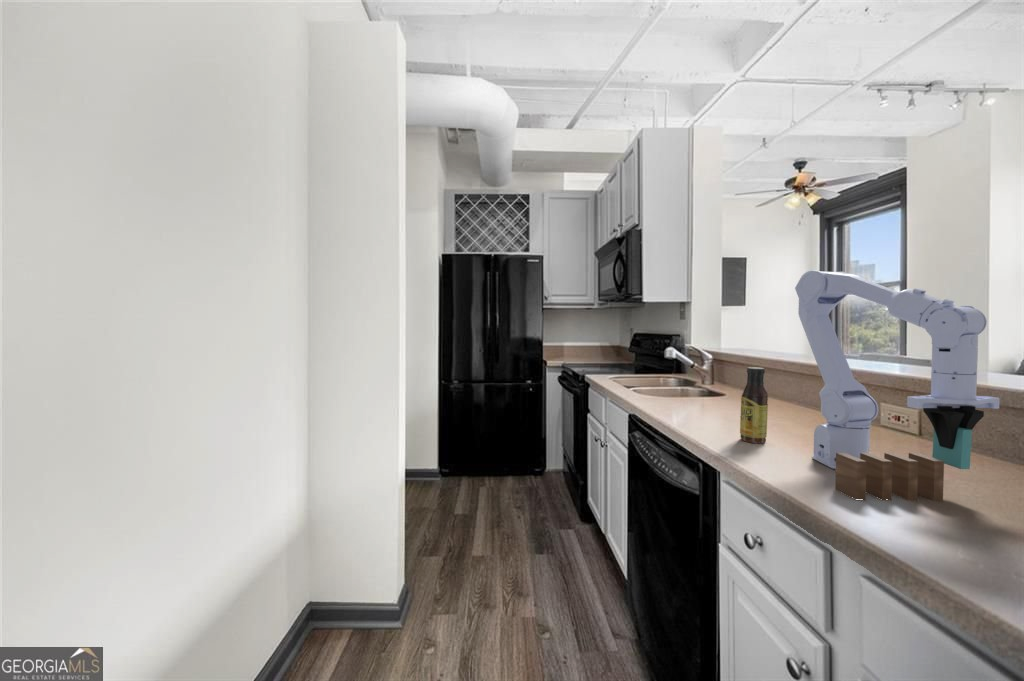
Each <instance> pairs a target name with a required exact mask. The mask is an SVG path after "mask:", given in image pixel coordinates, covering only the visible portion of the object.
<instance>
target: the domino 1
mask: <svg viewBox="0 0 1024 681" xmlns="http://www.w3.org/2000/svg"><path fill="white" fill-rule="evenodd" d="M834 481H835V482H834V484H835V486H834V490H835V489H836V491H837V490H838V491H837V492H839V491H840V492H839V493H841V492H842V493H841V494H843V493H844V494H843V495H845V494H846V495H845V496H847V495H848V496H847V497H849V496H850V497H849V498H851V497H853V498H855V499H863V500H862V501H866V494H867V493H866V461H864V460H862V459H859V458H857V457H854V456H851V455H849V454H846V453H836V469H835V480H834ZM853 498H852V499H853ZM855 499H854V500H855Z"/></svg>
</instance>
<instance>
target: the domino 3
mask: <svg viewBox="0 0 1024 681" xmlns="http://www.w3.org/2000/svg"><path fill="white" fill-rule="evenodd" d="M883 454H884V456H883V458H884V459H887V460H890V461H892V493H893V494H892V493H891V494H892V495H895V496H897V497H899V496H900V497H899V498H901V497H902V499H904V500H905V501H906V500H907V501H918V494H917V485H918V461H916V460H913V459H910V458H909V457H906V456H904V455H901V454H898V453H894V452H884V453H883Z"/></svg>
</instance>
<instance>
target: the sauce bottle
mask: <svg viewBox="0 0 1024 681" xmlns="http://www.w3.org/2000/svg"><path fill="white" fill-rule="evenodd" d="M765 371H766V370H765V368H764V367H759V366H758V367H756V366H748V367H747V368H746V373H747V377H746V378H747V381H746V385H745V387H744V390H743V393H741V396H740V416H739V417H740V419H739V421H740V422H739V425H740V426H739V434H740V440H741V441H743V442H746V443H750V444H764V443H766V441H767V439H766V438H767V435H768V434H767V433H768V432H767V431H768V415H769V414H768V412H769V409H768V408H769V404H768V400H769V398H768V397H769V394H768V392H767V390H766V389H765V386H764V383H765V382H764V375H765Z"/></svg>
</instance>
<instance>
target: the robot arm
mask: <svg viewBox="0 0 1024 681" xmlns="http://www.w3.org/2000/svg"><path fill="white" fill-rule="evenodd" d="M794 290H795V292H796V295H797V297H798V310H797V311H798V318H799V320H800V322H801V325H802V328H803V330H804V333H805V336H806V339H807V341H808V343H809V346H810V349H811V352H812V354H813V357H814V360H815V362H816V364H817V367H818V370H819V373H820V375H821V377H822V380H823V383H824V386H823V387H822V388H821V389H820V391H819V392H818V396H819V398H820V413H821V415H822V416H823V418H824V419H825V420H826V423H824V424H819V425H817V426H816V427H815V428H814V432H813V455H812V456H811V459H812V460H813V459H814V460H815V461H816V462H819V463H821V464H823V465H825V466H827V467H829V468H830V469H833V470H836V453H846V454H849V455H851V456H854V457H857V458H859V459H860V453H870V444H871V443H870V440H871V439H870V438H871V426H872V421H873V420H875V419H876V418H877V417H878V414H879V411H880V410H879V409H880V408H879V405H878V403H877V400H875V399H874V398H873V396H871V395H870V393H869V392H868V390H867V387H866V386H864V385H863V384H862V383H861V382H859V381H858V380H856V379H855V378H854V374H853V372H852V370H851V367H850V365H849V363H848V360H847V358H846V356H845V355H846V354H845V353H844V350H843V348H842V345H841V343H840V340H839V338H838V336H837V333H836V330H835V328H834V326H833V323H832V320H831V318H830V313H831V312H832V310H833V309H834V308H836V307H837V305H838V304H840V302H842V301H843V300H844V299H845V298H846V297H847V296H849V295H852V296H856V297H859V298H862V299H865V300H867V301H871V302H873V303H876V304H879V305H882V306H884V307H887V311H888V313H889V315H890V316H892V317H895V318H896V319H897V318H898V319H899V320H901V321H902V320H903V321H905V322H907V323H910V324H913V325H915V326H918V327H919V328H922V329H925V331H926V333H928V335H929V336H930V338H931V345H932V346H931V372H930V373H931V374H930V379H931V380H930V394H925V395H917V396H916V395H915V396H914V395H913V396H907V399H906V400H907V401H906V402H907V403H906V406H907V408H913V409H918V410H922V409H923V410H922V411H923V413H924V414H925V415H926V417H927V418H928V420H929V422H930V424H931V425H932V427H933V431H934V430H935V432H936V435H937V438H938V442H939V445H940V446H941V447H945V448H948V449H953V447H954V444H955V440H956V434H957V430H958V427H961V428H965V429H970V430H972V431H973V430H974V428H975V427H976V425H977V424H978V423H979V422H980V420H981V419H983V417H985V412H984V410H978V409H993V410H994V409H1000V397H995V396H989V395H988V396H987V395H983V396H982V395H977V388H978V386H977V384H978V383H977V381H978V362H979V360H978V358H979V357H978V356H979V355H978V353H979V335H981V333H983V331H984V330H985V329H986V326H987V322H988V320H987V317H986V316H985V314H984V313H983V312H982V311H981V310H979V309H977V308H975V307H974V306H973V305H972V306H971V305H960V306H955V304H954V303H955V301H953V300H951V299H949V298H948V299H940V298H937V297H934V296H931V295H928V294H926V292H927V291H926V290H924V289H921V288H913V289H911V288H907V289H903V290H901V291H896V290H894V289H891V288H889V287H887V286H884V285H882V284H879V283H877V282H874V281H872V280H869V279H867V278H865V277H862V276H859V275H857V274H853V273H847V272H845V271H819V270H809V271H806V272H805V273H803V274H802V275H801V277H800V278H799V280H798V282H797V284H796V285H795V287H794Z"/></svg>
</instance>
